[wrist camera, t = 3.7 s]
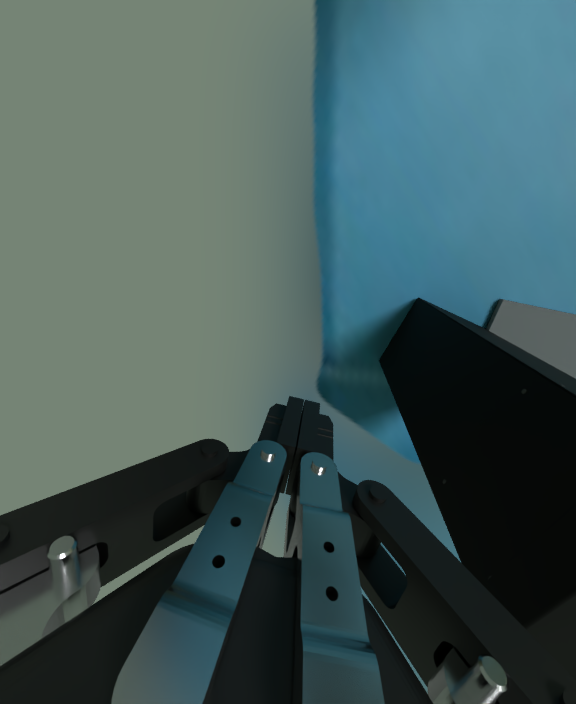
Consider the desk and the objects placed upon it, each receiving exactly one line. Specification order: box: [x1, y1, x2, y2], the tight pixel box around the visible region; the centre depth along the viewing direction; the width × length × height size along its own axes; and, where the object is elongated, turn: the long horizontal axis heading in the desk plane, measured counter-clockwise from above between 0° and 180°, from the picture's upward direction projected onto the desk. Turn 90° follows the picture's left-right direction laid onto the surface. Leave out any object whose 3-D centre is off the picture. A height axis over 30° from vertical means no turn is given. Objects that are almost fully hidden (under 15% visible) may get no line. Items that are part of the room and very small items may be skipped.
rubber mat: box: [486, 299, 576, 379], centre depth 30 cm, size 12×18×1 cm, turn 79°
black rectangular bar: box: [379, 298, 576, 680], centre depth 18 cm, size 8×8×28 cm
